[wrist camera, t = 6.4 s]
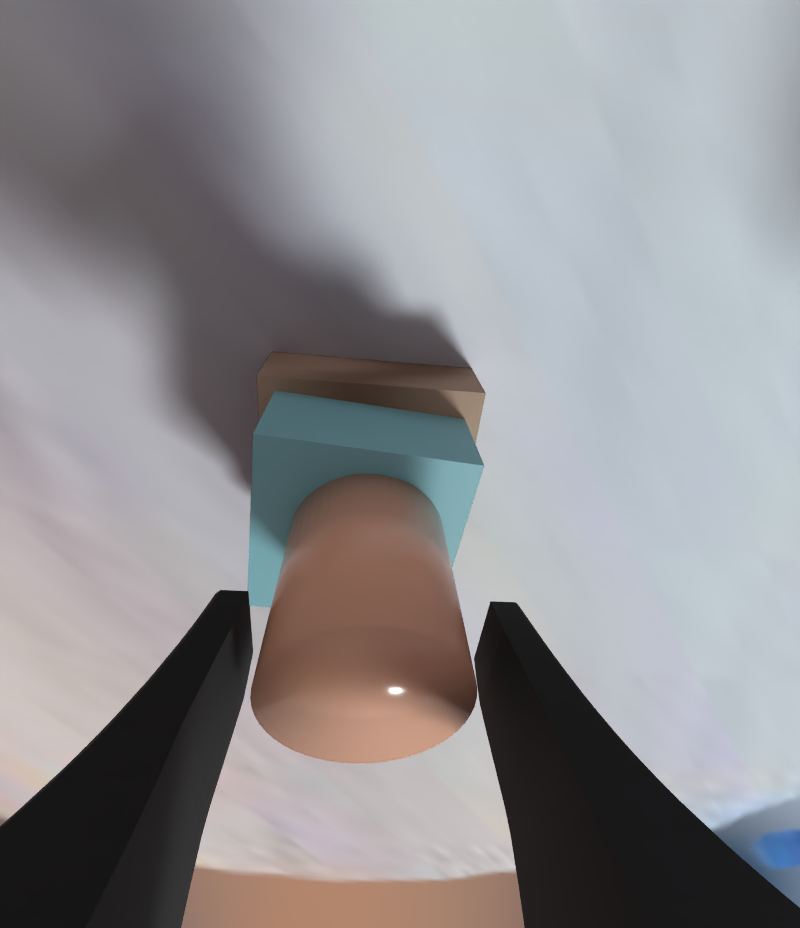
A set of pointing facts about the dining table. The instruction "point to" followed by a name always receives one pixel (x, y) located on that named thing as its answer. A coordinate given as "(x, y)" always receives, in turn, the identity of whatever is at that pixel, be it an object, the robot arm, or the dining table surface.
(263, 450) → the teal top slab
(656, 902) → the robot arm
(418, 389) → the walnut base slab
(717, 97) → the dining table surface
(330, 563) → the terracotta cylinder
